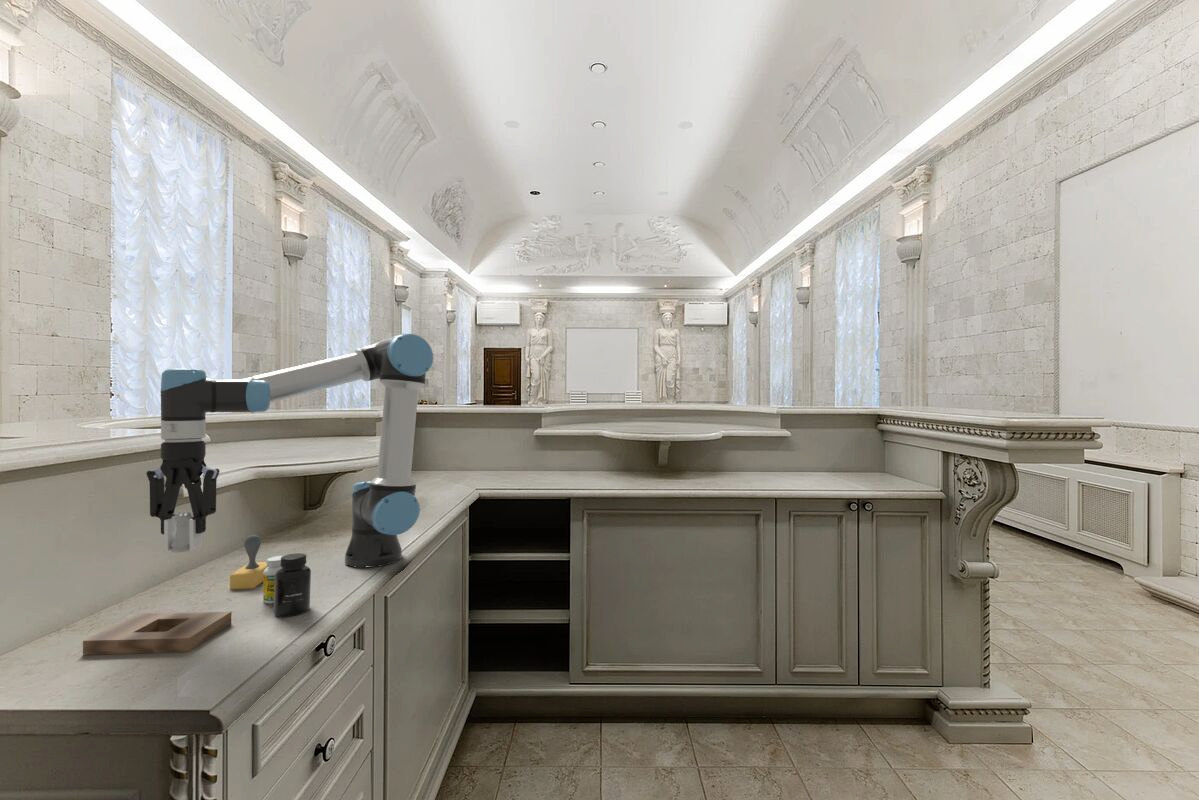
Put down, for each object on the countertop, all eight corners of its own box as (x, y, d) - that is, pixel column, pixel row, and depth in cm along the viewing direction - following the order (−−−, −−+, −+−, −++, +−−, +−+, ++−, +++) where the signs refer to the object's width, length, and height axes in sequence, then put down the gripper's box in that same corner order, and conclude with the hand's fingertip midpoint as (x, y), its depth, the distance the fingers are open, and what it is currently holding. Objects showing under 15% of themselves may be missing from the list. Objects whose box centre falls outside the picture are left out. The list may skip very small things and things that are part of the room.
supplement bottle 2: (289, 619, 107) (290, 562, 107) (266, 614, 109) (266, 558, 110) (317, 607, 114) (318, 553, 114) (295, 603, 116) (295, 550, 116)
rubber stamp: (249, 576, 134) (249, 530, 134) (273, 575, 135) (273, 529, 136) (229, 589, 125) (229, 540, 125) (255, 588, 126) (256, 539, 126)
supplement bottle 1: (290, 593, 122) (290, 553, 122) (291, 601, 117) (291, 559, 117) (262, 598, 119) (263, 557, 119) (262, 606, 114) (263, 563, 114)
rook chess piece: (166, 554, 107) (166, 515, 107) (174, 548, 111) (174, 511, 111) (192, 551, 109) (192, 514, 109) (199, 546, 113) (199, 510, 113)
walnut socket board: (231, 623, 105) (231, 611, 105) (188, 651, 93) (188, 638, 93) (138, 626, 104) (138, 613, 104) (82, 654, 92) (82, 640, 92)
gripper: (125, 442, 106) (125, 554, 106) (214, 441, 107) (214, 552, 107) (154, 439, 113) (154, 544, 113) (237, 438, 115) (236, 543, 115)
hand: (183, 548), depth 110 cm, fingers closed on rook chess piece, 4 cm apart
